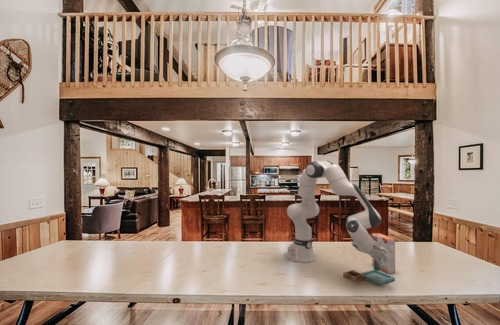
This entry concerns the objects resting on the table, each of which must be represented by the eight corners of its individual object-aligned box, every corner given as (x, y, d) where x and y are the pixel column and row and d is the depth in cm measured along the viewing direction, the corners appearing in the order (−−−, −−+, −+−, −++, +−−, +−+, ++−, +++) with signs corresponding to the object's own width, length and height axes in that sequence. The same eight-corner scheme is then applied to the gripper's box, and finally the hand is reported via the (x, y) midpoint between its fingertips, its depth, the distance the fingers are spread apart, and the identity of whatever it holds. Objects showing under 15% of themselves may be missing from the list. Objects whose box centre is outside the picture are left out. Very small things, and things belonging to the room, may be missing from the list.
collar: (343, 276, 151) (343, 272, 151) (352, 274, 155) (352, 270, 155) (354, 282, 144) (354, 277, 144) (364, 279, 148) (364, 274, 148)
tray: (359, 276, 151) (359, 273, 151) (374, 272, 157) (374, 269, 157) (380, 285, 140) (380, 282, 140) (394, 280, 146) (394, 277, 146)
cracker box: (371, 265, 169) (371, 233, 169) (379, 264, 170) (379, 232, 170) (387, 274, 155) (386, 239, 155) (395, 273, 156) (395, 238, 156)
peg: (372, 269, 149) (372, 248, 149) (376, 267, 151) (376, 247, 151) (378, 271, 146) (377, 249, 146) (382, 270, 148) (381, 248, 148)
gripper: (386, 243, 136) (397, 259, 141) (354, 234, 154) (365, 248, 159) (381, 253, 134) (392, 268, 139) (348, 243, 152) (360, 257, 156)
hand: (377, 258), depth 149 cm, fingers closed on peg, 4 cm apart
